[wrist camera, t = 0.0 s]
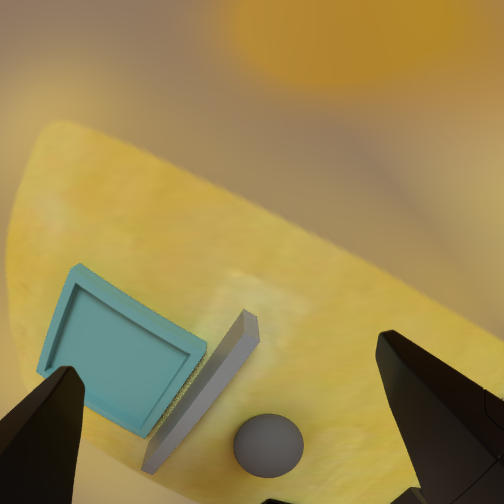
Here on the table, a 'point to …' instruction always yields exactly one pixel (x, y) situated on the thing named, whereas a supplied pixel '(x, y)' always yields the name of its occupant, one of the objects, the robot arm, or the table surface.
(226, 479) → the table surface
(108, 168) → the table surface
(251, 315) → the low wall
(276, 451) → the ball
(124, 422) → the dish
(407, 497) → the phone stand
